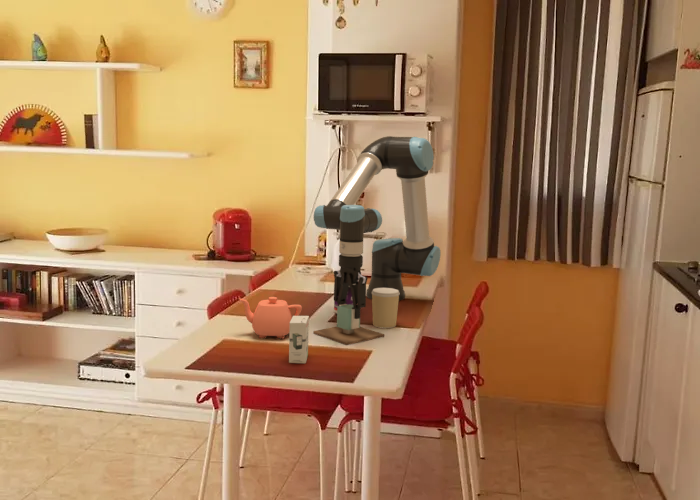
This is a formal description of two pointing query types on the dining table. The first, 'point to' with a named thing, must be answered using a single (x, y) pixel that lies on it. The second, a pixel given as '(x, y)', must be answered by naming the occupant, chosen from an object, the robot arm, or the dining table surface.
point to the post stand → (348, 334)
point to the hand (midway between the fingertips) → (348, 326)
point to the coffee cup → (385, 307)
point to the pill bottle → (348, 300)
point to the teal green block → (344, 316)
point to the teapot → (271, 317)
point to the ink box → (298, 339)
